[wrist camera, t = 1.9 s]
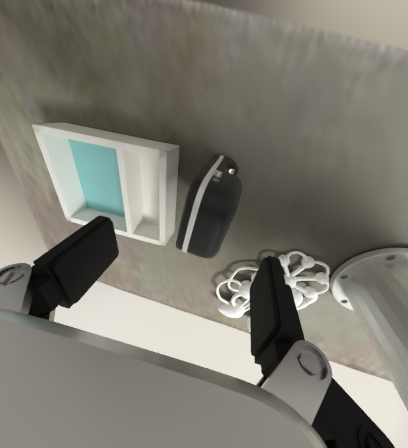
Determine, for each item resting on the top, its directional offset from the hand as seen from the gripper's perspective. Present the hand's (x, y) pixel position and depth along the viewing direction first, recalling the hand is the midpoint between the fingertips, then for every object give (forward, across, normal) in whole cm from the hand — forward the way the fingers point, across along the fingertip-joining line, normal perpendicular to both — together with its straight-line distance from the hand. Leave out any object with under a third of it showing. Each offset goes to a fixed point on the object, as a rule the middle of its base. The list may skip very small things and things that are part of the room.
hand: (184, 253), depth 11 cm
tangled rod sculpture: (+14, -12, +18) cm, 25 cm away
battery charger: (+14, -1, 0) cm, 14 cm away
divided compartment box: (+14, +13, +3) cm, 20 cm away
